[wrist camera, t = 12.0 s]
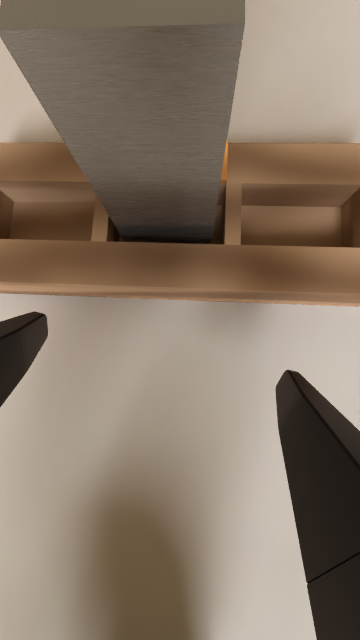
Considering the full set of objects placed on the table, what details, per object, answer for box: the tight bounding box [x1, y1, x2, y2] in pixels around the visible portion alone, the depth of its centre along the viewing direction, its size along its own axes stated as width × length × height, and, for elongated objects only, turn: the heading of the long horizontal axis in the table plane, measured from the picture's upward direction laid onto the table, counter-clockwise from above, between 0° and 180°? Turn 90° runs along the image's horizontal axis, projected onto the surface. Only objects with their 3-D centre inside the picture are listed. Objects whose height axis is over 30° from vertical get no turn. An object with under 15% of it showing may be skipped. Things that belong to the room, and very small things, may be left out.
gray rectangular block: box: [0, 0, 245, 244], centre depth 13 cm, size 3×6×13 cm, turn 88°
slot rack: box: [0, 139, 360, 306], centre depth 18 cm, size 10×28×4 cm, turn 87°
